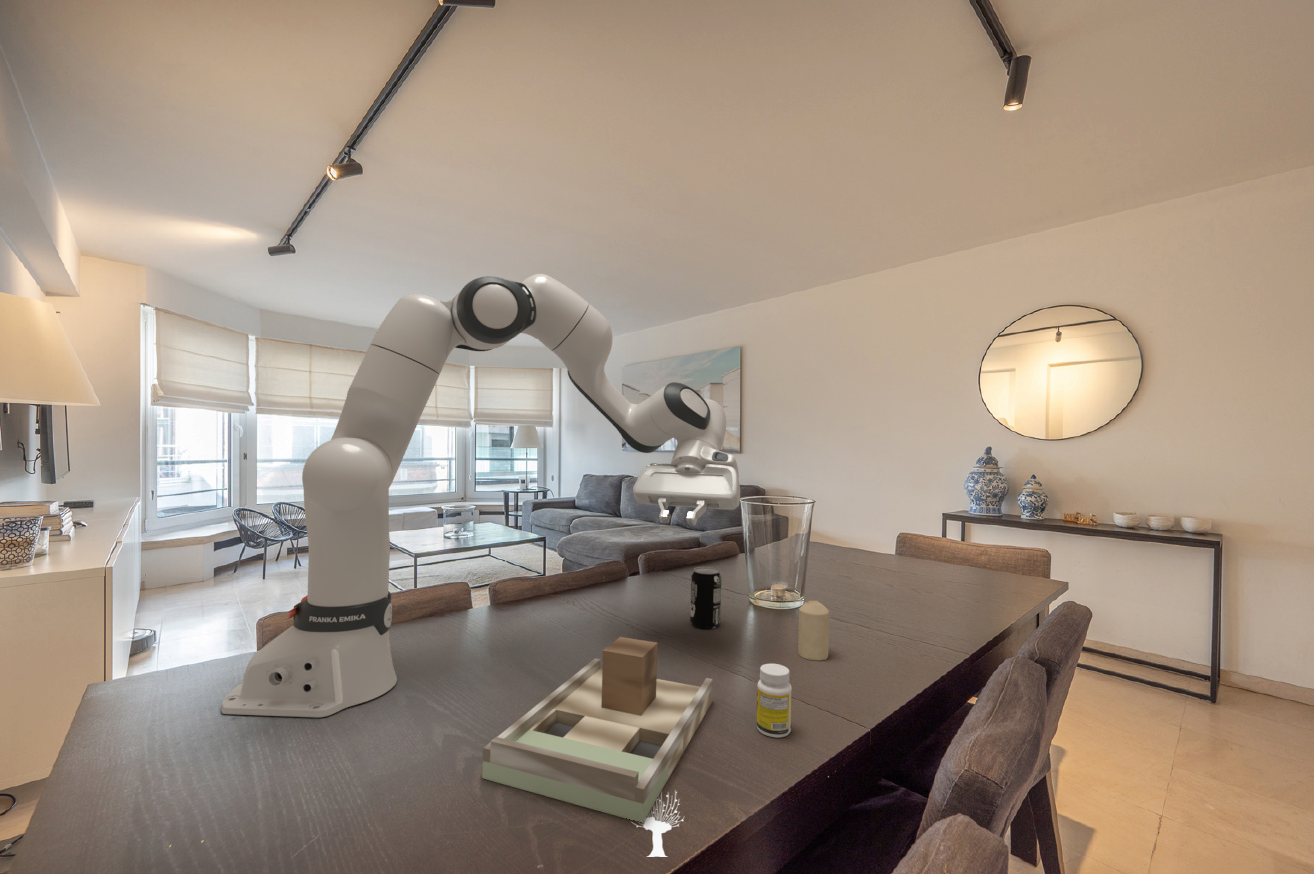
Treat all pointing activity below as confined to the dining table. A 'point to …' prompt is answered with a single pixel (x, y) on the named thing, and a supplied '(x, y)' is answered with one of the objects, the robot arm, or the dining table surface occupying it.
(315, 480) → the robot arm
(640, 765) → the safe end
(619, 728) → the box
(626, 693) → the walnut block
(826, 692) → the dining table surface
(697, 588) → the beverage can
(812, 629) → the candle
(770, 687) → the supplement bottle
